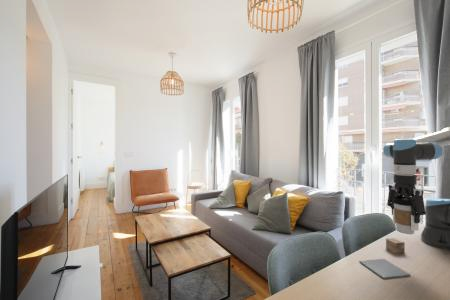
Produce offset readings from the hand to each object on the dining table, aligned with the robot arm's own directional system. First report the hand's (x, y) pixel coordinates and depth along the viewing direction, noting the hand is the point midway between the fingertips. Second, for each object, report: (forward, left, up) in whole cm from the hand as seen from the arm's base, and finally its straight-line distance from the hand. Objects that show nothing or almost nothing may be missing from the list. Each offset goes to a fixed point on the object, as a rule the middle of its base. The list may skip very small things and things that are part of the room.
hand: (405, 226), depth 95 cm
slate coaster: (+13, +3, -16) cm, 21 cm away
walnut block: (-6, -10, -16) cm, 20 cm away
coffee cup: (0, 0, -2) cm, 2 cm away
